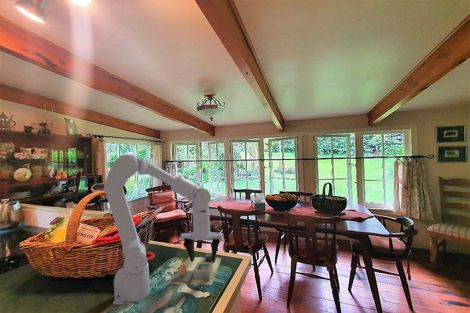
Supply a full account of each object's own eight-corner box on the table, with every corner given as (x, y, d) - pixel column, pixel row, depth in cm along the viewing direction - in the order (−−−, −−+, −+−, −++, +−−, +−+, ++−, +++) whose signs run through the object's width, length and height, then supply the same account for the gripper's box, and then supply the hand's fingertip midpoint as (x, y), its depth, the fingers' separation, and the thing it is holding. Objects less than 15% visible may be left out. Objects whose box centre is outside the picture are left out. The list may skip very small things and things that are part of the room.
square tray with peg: (171, 281, 74) (170, 267, 74) (178, 271, 80) (177, 258, 80) (189, 282, 73) (188, 268, 73) (195, 271, 79) (194, 259, 79)
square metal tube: (193, 279, 74) (193, 271, 74) (198, 270, 80) (197, 262, 80) (209, 280, 74) (209, 271, 74) (213, 271, 79) (213, 263, 79)
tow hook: (147, 252, 100) (127, 260, 92) (147, 224, 100) (127, 229, 92) (158, 257, 95) (138, 266, 87) (158, 227, 95) (138, 233, 87)
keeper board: (170, 286, 73) (169, 276, 73) (188, 259, 91) (188, 251, 91) (211, 287, 71) (211, 277, 71) (222, 260, 89) (221, 252, 89)
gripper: (224, 218, 79) (225, 255, 80) (185, 218, 81) (187, 254, 82) (220, 224, 72) (222, 265, 73) (178, 224, 74) (180, 264, 75)
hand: (203, 260), depth 77 cm, fingers open, 7 cm apart
